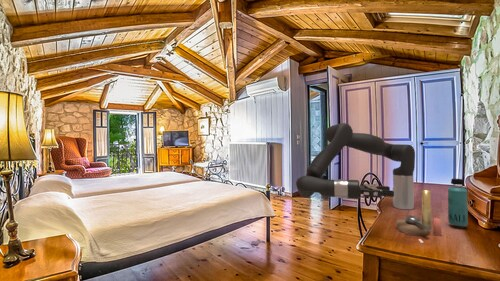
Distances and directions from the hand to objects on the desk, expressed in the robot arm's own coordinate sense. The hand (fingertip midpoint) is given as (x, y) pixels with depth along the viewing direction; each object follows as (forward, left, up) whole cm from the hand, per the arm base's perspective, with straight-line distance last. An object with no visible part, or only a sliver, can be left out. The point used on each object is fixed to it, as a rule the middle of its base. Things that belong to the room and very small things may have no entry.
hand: (391, 191), depth 98 cm
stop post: (+1, +17, -17) cm, 24 cm away
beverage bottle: (-6, +31, -17) cm, 36 cm away
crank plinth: (-4, +11, -17) cm, 21 cm away
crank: (-1, +11, -14) cm, 17 cm away
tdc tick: (+6, +7, -17) cm, 19 cm away
